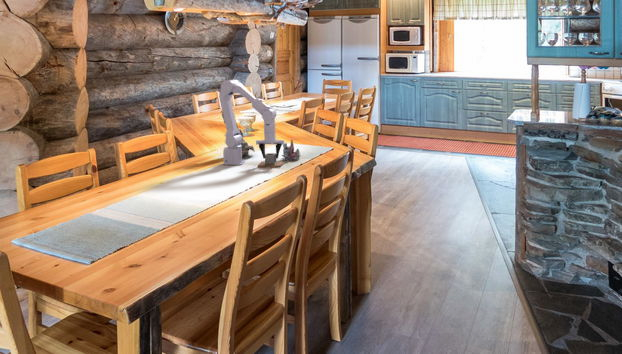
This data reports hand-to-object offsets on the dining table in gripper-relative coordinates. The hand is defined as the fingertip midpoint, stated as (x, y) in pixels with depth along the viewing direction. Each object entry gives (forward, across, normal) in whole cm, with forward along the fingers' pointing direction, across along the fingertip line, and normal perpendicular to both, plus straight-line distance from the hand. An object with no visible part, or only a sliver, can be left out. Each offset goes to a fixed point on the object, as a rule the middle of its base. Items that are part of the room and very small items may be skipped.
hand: (270, 158), depth 295 cm
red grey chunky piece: (+4, +8, +17) cm, 19 cm away
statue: (+4, -23, +24) cm, 33 cm away
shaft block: (+4, 0, 0) cm, 4 cm away
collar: (+3, 0, 0) cm, 3 cm away
